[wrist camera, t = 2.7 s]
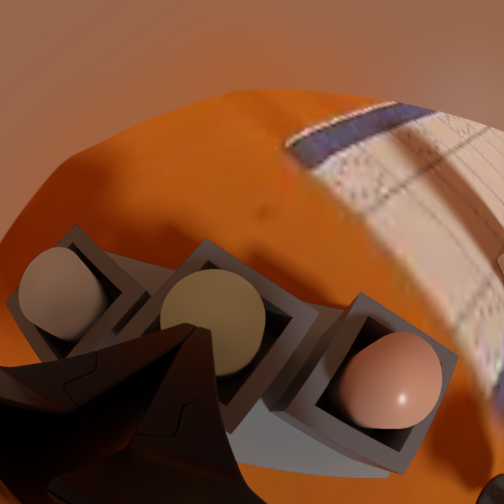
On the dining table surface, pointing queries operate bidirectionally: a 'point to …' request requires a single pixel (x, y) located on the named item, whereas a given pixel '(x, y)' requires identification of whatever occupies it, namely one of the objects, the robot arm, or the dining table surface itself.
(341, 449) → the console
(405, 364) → the salmon orange ball
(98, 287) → the white rounded dome
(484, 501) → the sundae
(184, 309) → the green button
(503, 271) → the milk
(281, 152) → the dining table surface
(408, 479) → the dining table surface
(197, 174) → the dining table surface
